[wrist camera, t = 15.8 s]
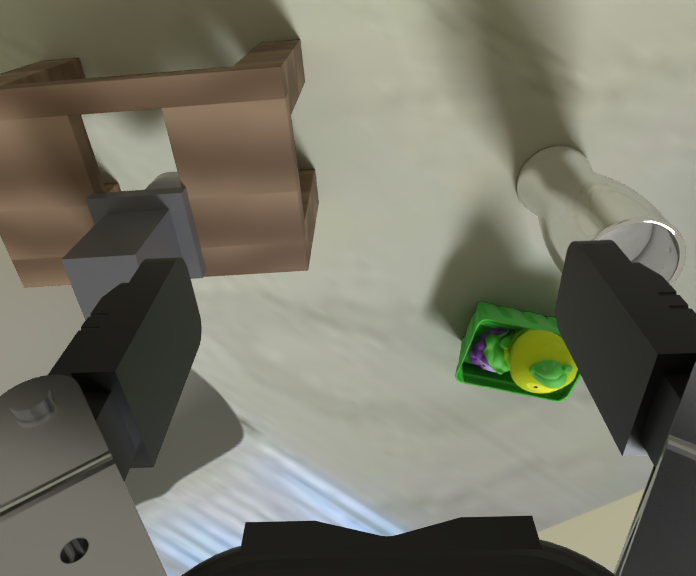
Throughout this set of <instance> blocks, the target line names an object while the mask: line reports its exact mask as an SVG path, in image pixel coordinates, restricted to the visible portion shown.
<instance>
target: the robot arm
mask: <svg viewBox="0 0 696 576" xmlns="http://www.w3.org/2000/svg"><path fill="white" fill-rule="evenodd" d="M90 314H91V316H90V317H88V318H87V319H86V321H85V322H84V324H83V325H82V327H81V331H78V332H77V334H76V335H75V336H74V338H73V339H72V341H71V342H70V344H69V345H68V347H67V348H66V349H65V351H64V352H63V354H62V355H61V357H60V358H59V360H58V361H57V363H56V364H55V366H54V367H53V368H52V370H51V371H50V373H49V374H48V375H46V376H40V377H36V378H33V379H30V380H28V381H25V382H23V383H21V384H18V385H16V386H15V387H13V388H11V389H10V390H8V391H7V392H5V393H4V394H2V395H1V396H0V576H167V574H166V572H165V570H164V568H163V566H162V564H161V561H160V559H159V557H158V555H157V553H156V551H155V548H154V546H153V544H152V542H151V540H150V537H149V535H148V533H147V531H146V529H145V527H144V524H143V522H142V520H141V518H140V516H139V514H138V511H137V509H136V507H135V505H134V503H133V501H132V499H131V496H130V494H129V492H128V490H127V488H126V486H125V483H124V481H125V478H126V476H127V474H128V471H129V469H130V468H144V467H145V468H146V467H154V464H155V462H156V459H157V456H158V454H159V451H160V449H161V446H162V443H163V441H164V438H165V435H166V433H167V430H168V427H169V425H170V422H171V419H172V416H173V414H174V411H175V409H176V406H177V403H178V401H179V398H180V395H181V393H182V390H183V387H184V385H185V382H186V380H187V377H188V374H189V371H190V369H191V366H192V364H193V361H194V358H195V356H196V353H197V350H198V348H199V345H200V341H201V318H200V314H199V310H198V306H197V302H196V298H195V295H194V291H193V287H192V283H191V279H190V275H189V272H188V268H187V265H186V263H185V261H184V259H183V258H181V257H175V258H152V259H145V260H143V261H142V263H141V264H140V266H139V267H138V269H137V271H136V272H135V274H134V275H133V277H132V278H131V280H130V281H129V283H120V284H119V285H118V286H116V287H115V288H114V289H112V290H111V291H110V292H108V293H107V294H106V295H104V296H103V297H102V298H101V299H100V300H99V302H98V303H97V305H96V306H95V308H94V309H93V311H92V312H91V313H90ZM556 321H557V326H558V330H559V333H560V335H561V337H562V339H563V341H564V343H565V345H566V347H567V348H568V350H569V352H570V354H571V356H572V358H573V360H574V362H575V364H576V366H577V368H578V370H579V372H580V374H581V376H582V378H583V380H584V382H585V384H586V386H587V388H588V390H589V392H590V394H591V396H592V398H593V399H594V401H595V403H596V405H597V407H598V409H599V411H600V413H601V415H602V417H603V419H604V421H605V423H606V425H607V427H608V429H609V431H610V433H611V435H612V437H613V439H614V441H615V443H616V445H617V447H618V449H619V450H620V452H621V454H622V456H649V457H650V459H651V461H652V463H653V464H654V466H653V469H652V471H651V474H650V476H649V479H648V481H647V484H646V487H645V490H644V492H643V495H642V498H641V500H640V504H639V506H638V509H637V512H636V514H635V517H634V520H633V522H632V525H631V528H630V530H629V533H628V536H627V539H626V542H625V544H624V547H623V550H622V552H621V555H620V558H619V560H618V563H617V566H616V568H615V571H614V573H612V572H610V571H609V570H607V569H606V568H605V567H603V566H602V565H600V564H598V563H596V562H595V561H593V560H591V559H589V558H587V557H586V556H584V555H581V554H579V553H577V552H575V551H573V550H570V549H568V548H566V547H563V546H560V545H557V544H554V543H551V542H548V541H543V540H539V537H538V534H537V531H536V527H535V524H534V521H533V517H532V516H503V517H460V518H457V519H453V520H450V521H446V522H442V523H439V524H435V525H432V526H428V527H424V528H421V529H417V530H414V531H410V532H406V533H403V534H399V535H395V536H379V535H375V534H371V533H366V532H362V531H357V530H353V529H349V528H344V527H340V526H335V525H331V524H327V523H322V522H318V521H285V522H246V523H245V528H244V534H243V539H242V544H241V546H239V547H235V548H232V549H229V550H227V551H224V552H222V553H219V554H217V555H214V556H213V557H211V558H209V559H207V560H205V561H203V562H201V563H199V564H198V565H196V566H195V567H193V568H192V569H190V570H189V571H187V572H186V573H184V574H183V575H182V576H696V313H695V312H694V311H693V310H692V309H689V308H688V304H687V303H686V302H685V301H684V300H683V299H682V297H681V296H680V295H676V291H675V290H674V288H673V287H672V286H671V285H670V284H669V283H668V282H667V281H666V280H665V278H664V277H663V276H662V275H660V274H658V273H657V272H655V271H653V270H651V269H650V268H648V267H646V266H645V265H643V264H641V263H639V262H635V263H632V262H631V261H630V260H629V259H628V257H627V256H626V255H625V254H624V253H623V251H622V250H621V249H620V248H619V247H618V245H617V244H616V243H615V242H614V241H613V240H589V241H573V242H571V243H570V244H569V246H568V249H567V252H566V257H565V262H564V267H563V272H562V277H561V282H560V288H559V293H558V298H557V303H556Z"/></svg>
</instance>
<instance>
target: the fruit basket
mask: <svg viewBox="0 0 696 576" xmlns="http://www.w3.org/2000/svg"><path fill="white" fill-rule="evenodd" d="M580 376H581V374H580V372H579V370H578V368H577V366H576V364H575V362H574V360H573V358H572V356H571V354H570V352H569V350H568V348H567V347H566V345H565V343H564V341H563V339H562V337H561V335H560V333H559V330H558V326H557V321H556V318H555V317H544V316H542V315H540V314H536V313H531V312H521V311H519V310H517V309H512V308H508V307H497V306H495V305H493V304H489V303H484V302H479V303H478V304H477V307H476V312H475V313H474V314H473V316H472V318H471V320H470V323H469V325H468V327H467V330H466V335H465V337H463V339H462V343H461V350H460V357H459V363H458V366H457V369H456V374H455V378H456V380H457V381H459V382H460V383H464V384H469V385H475V386H480V387H485V388H490V389H496V390H501V391H505V392H510V393H515V394H521V395H526V396H531V397H536V398H541V399H546V400H550V401H555V402H560V401H563V400H565V399H566V398H568V397H569V395H570V393H571V391H572V390H573V388H574V386H575V384H576V383H577V381H578V380H579V378H580Z"/></svg>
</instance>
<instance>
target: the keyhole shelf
mask: <svg viewBox="0 0 696 576" xmlns="http://www.w3.org/2000/svg"><path fill="white" fill-rule="evenodd" d="M304 83H305V77H304V68H303V59H302V50H301V41H300V39H299V40H287V41H275V42H263V43H260V44H258V45H257V46H256V47H255V48H254V49H253V50H251V51H250V52H249V53H248V54H247V55H246V56H245V57H243V58H242V59H241V60H240V61H239V62H238V63H236V64H235V65H234V66H233V67H222V68H209V69H197V70H185V71H173V72H160V73H148V74H136V75H123V76H111V77H99V78H87V79H85V76H84V73H83V69H82V66H81V63H80V60H79V58H72V59H60V60H48V61H40V62H36V63H33V64H30V65H27V66H24V67H21V68H18V69H15V70H11V71H8V72H5V73H2V74H0V236H1V238H2V240H3V242H4V245H5V246H6V249H7V251H8V253H9V255H10V257H11V260H12V262H13V264H14V266H15V268H16V271H17V273H18V275H19V277H20V279H21V281H22V284H23V286H24V287H25V288H27V287H44V286H60V285H71V283H70V280H69V278H68V275H67V273H66V270H65V268H64V265H63V263H62V261H61V259H62V258H63V257H64V256H65V255H66V254H67V253H68V252H69V251H70V250H71V249H72V248H73V247H74V246H75V245H76V244H77V243H78V242H79V241H80V240H81V239H82V238H83V237H84V236H85V235H86V234H87V233H88V232H89V231H90V230H91V229H92V228H93V227H94V226H95V225H94V222H93V219H92V216H91V214H90V211H89V208H88V205H87V202H86V199H87V198H88V197H89V196H90V195H91V194H92V193H106V192H121V190H120V187H119V183H111V184H103V181H102V178H101V175H100V172H99V168H98V165H97V162H96V159H95V156H94V153H93V150H92V147H91V144H90V141H89V138H88V135H87V132H86V129H85V126H84V123H83V120H82V117H81V114H94V113H107V112H119V111H132V110H145V109H158V108H162V112H163V116H164V120H165V124H166V128H167V132H168V136H169V140H170V144H171V148H172V152H173V156H174V160H175V163H176V167H177V171H178V175H179V179H180V183H181V187H186V190H187V194H188V198H189V202H190V206H191V210H192V214H193V218H194V222H195V226H196V230H197V234H198V238H199V242H200V246H201V251H202V255H203V259H204V263H205V267H206V272H205V274H204V276H203V277H208V276H225V275H241V274H257V273H274V272H290V271H307V270H308V268H309V261H310V255H311V248H312V242H313V236H314V229H315V223H316V217H317V210H318V204H319V200H318V191H317V183H316V174H315V169H309V170H298V166H297V159H296V151H295V143H294V136H293V128H292V120H291V114H292V111H293V109H294V107H295V104H296V102H297V100H298V97H299V95H300V93H301V90H302V88H303V85H304Z"/></svg>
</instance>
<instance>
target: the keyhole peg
mask: <svg viewBox="0 0 696 576" xmlns="http://www.w3.org/2000/svg"><path fill="white" fill-rule="evenodd" d="M86 202H87V205H88V208H89V211H90V214H91V216H92V219H93V222H94V225H95V226H94V227H93V228H92V229H91V230H90V231H89V232H88V233H87V234H86V235H85V236H84V237H83V238H82V239H81V240H80V241H79V242H78V243H77V244H76V245H75V246H74V247H73V248H72V249H71V250H70V251H69V252H68V253H67V254H66V255H65V256H64V257H63V258H62V259H61V261H62V263H63V265H64V268H65V270H66V273H67V275H68V278H69V280H70V283H71V285H72V288H73V290H74V293H75V295H76V297H77V300H78V302H79V305H80V307H81V310H82V312H83V315H84V317H85V320H86V319H87V318H88V317H90V316H91V314H90V313H91V312H92V311H93V309H94V308H95V306H96V305H97V303H98V302H99V300H100V299H101V298H102V297H103V296H104V295H106V294H107V293H108V292H110V291H111V290H112V289H114V288H115V287H116V286H118V285H119V284H120V283H129V281H130V280H131V278H132V277H133V275H134V274H135V272H136V271H137V269H138V267H139V266H140V264H141V263H142V261H143V260H145V259H152V258H175V257H181V258H183V259H184V261H185V263H186V265H187V268H188V272H189V275H190V279H192V278H203V276H204V274H205V272H206V267H205V263H204V259H203V255H202V251H201V246H200V242H199V238H198V234H197V230H196V226H195V222H194V218H193V214H192V210H191V206H190V202H189V198H188V194H187V190H186V187H181V183H180V179H179V175H178V172H166V173H163V174H161V175H159V176H158V177H157V178H155V180H154V181H153V182H152V183H151V184H150V185H149V186H148V187H147V188H146V189H145V190H135V191H121V192H106V193H92V194H91V195H90V196H89V197H88V198H87V199H86Z"/></svg>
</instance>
